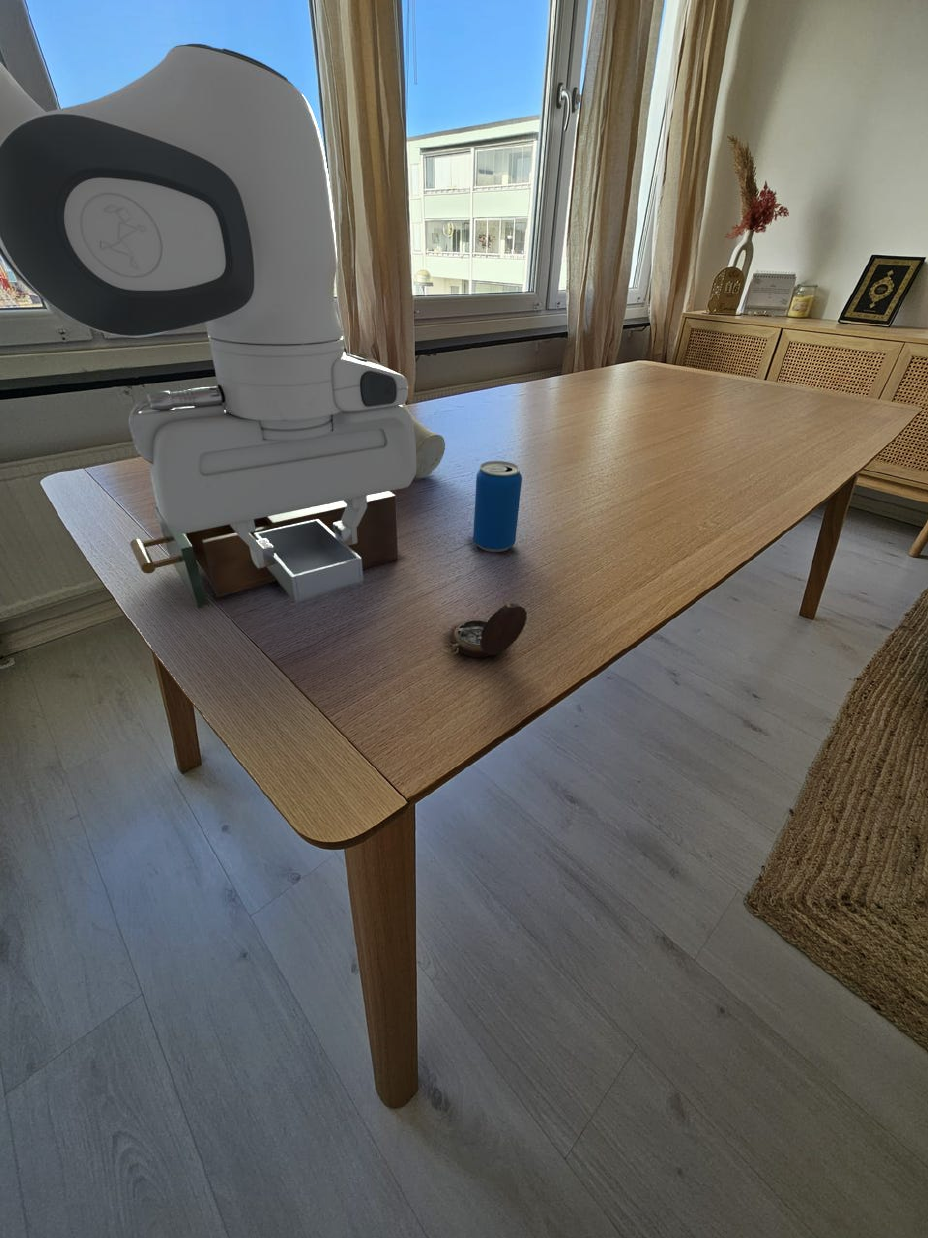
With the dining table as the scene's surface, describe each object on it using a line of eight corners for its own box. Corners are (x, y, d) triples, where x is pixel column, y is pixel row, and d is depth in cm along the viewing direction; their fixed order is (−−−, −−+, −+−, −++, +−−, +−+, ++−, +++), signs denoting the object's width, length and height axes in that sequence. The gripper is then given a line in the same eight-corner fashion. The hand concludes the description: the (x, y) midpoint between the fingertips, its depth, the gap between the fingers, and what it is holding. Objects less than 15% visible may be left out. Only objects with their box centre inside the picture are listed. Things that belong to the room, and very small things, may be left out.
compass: (478, 620, 65) (482, 567, 61) (525, 652, 60) (532, 598, 56) (425, 644, 61) (426, 590, 56) (472, 681, 56) (475, 625, 52)
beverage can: (522, 550, 81) (531, 472, 74) (484, 557, 78) (490, 477, 71) (502, 532, 85) (508, 457, 78) (465, 538, 83) (469, 462, 76)
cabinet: (285, 592, 68) (273, 522, 63) (247, 547, 78) (234, 483, 72) (398, 559, 77) (395, 495, 71) (351, 522, 86) (346, 463, 81)
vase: (496, 406, 100) (392, 345, 110) (420, 405, 83) (307, 334, 93) (458, 508, 112) (368, 445, 122) (385, 524, 96) (288, 451, 105)
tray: (295, 603, 43) (291, 577, 41) (258, 557, 48) (253, 533, 47) (363, 583, 46) (361, 558, 44) (320, 541, 51) (318, 518, 50)
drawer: (160, 618, 61) (139, 558, 56) (137, 569, 70) (117, 513, 65) (321, 572, 71) (314, 518, 66) (283, 534, 80) (275, 484, 75)
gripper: (127, 405, 31) (187, 604, 39) (426, 378, 41) (425, 540, 49) (111, 384, 35) (168, 568, 43) (386, 363, 45) (391, 515, 53)
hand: (307, 552), depth 46 cm, fingers closed on tray, 6 cm apart
